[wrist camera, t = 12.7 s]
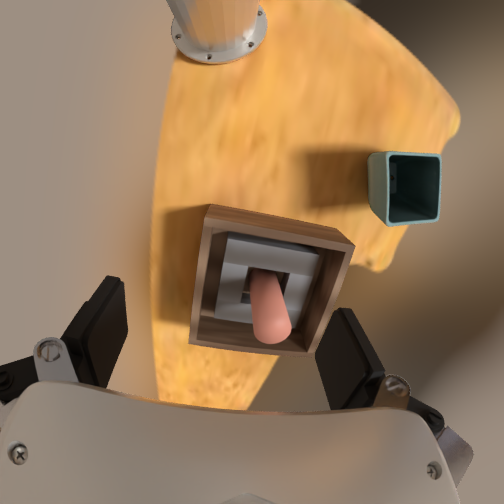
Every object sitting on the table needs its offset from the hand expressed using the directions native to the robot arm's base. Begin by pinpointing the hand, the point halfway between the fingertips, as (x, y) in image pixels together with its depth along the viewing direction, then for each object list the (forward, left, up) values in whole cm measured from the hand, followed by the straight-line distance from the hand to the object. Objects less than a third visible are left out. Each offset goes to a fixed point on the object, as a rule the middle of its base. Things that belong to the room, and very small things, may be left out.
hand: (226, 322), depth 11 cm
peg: (+10, +6, -25) cm, 28 cm away
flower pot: (-8, +20, -26) cm, 34 cm away
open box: (+10, +6, -26) cm, 29 cm away
